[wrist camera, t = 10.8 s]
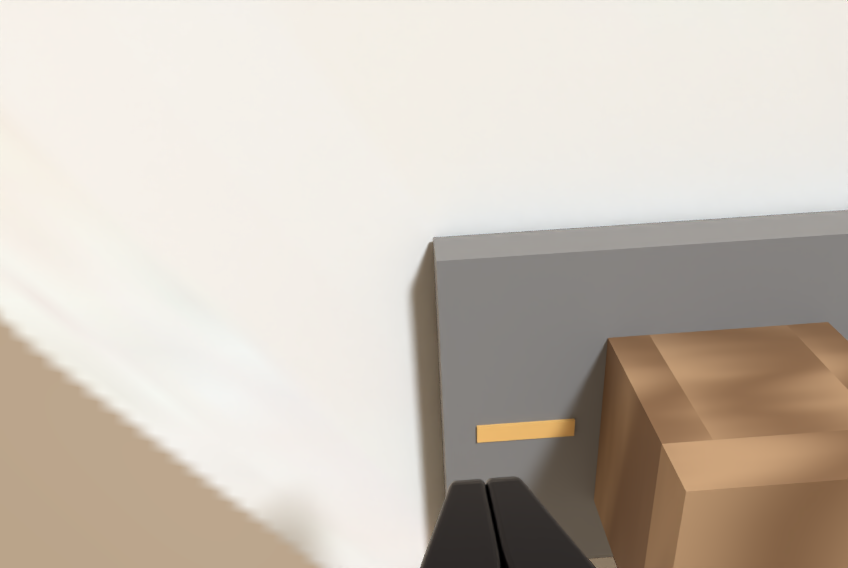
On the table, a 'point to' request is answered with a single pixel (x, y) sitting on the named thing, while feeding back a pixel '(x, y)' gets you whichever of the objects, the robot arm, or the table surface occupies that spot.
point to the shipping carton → (726, 448)
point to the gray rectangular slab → (602, 331)
